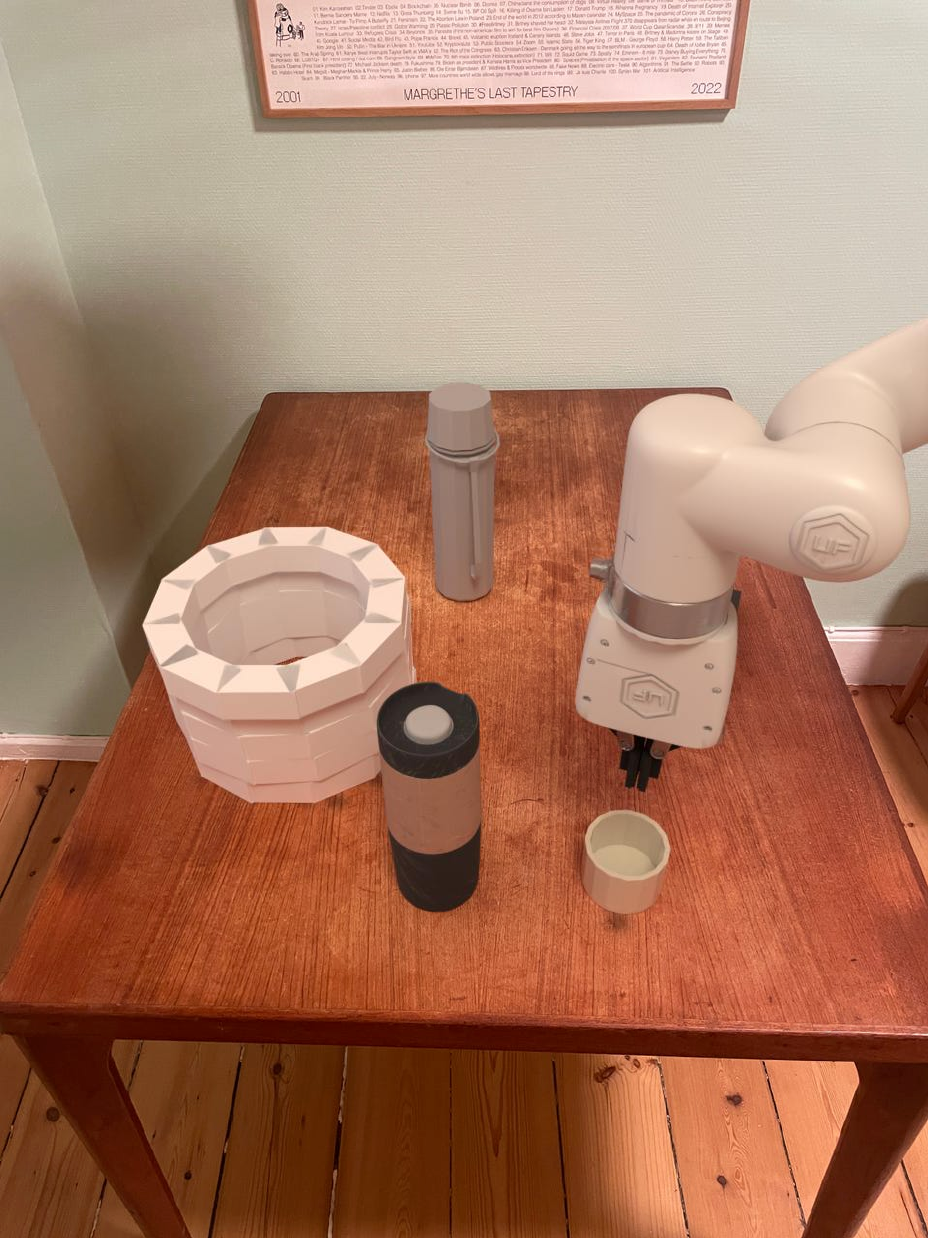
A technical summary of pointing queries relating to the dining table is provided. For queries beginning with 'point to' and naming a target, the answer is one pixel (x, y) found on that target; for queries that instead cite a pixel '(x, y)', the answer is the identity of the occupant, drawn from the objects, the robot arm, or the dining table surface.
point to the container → (283, 659)
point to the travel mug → (432, 792)
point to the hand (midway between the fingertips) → (638, 776)
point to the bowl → (624, 861)
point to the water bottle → (462, 488)
